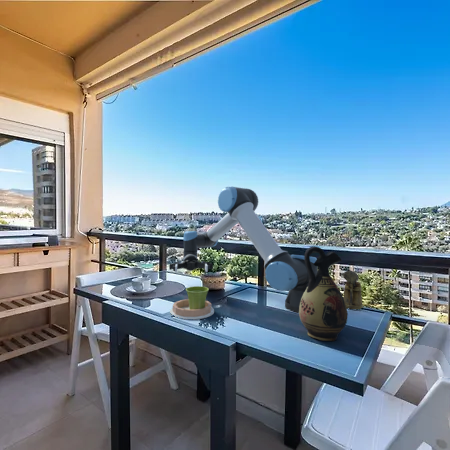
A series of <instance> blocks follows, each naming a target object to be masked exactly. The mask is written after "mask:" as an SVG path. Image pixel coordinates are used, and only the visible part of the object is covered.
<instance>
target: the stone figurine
mask: <svg viewBox="0 0 450 450" xmlns="http://www.w3.org/2000/svg"><path fill="white" fill-rule="evenodd" d="M342 275H343V278H344V280H345V284H344V291H343V298H344V301H345V304H346V308H349V309H348V310H351V309H361V308H363V309H364V304H363V298H362V291H363V290H362V283H361V282H359V275H358V274H357V272H355V271H353V270H351V269H349V270H346V271H344V272H343V274H342Z"/></svg>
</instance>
